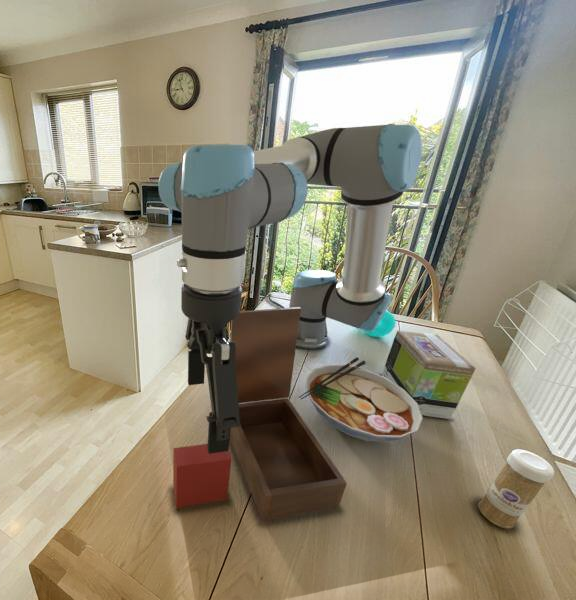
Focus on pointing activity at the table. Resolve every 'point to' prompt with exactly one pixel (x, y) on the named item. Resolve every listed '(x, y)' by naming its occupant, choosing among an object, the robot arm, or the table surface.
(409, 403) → the ramen bowl
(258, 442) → the chest
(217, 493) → the book
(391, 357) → the tea box
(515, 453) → the sprinkles bottle
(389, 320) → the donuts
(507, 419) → the table surface
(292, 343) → the lid
